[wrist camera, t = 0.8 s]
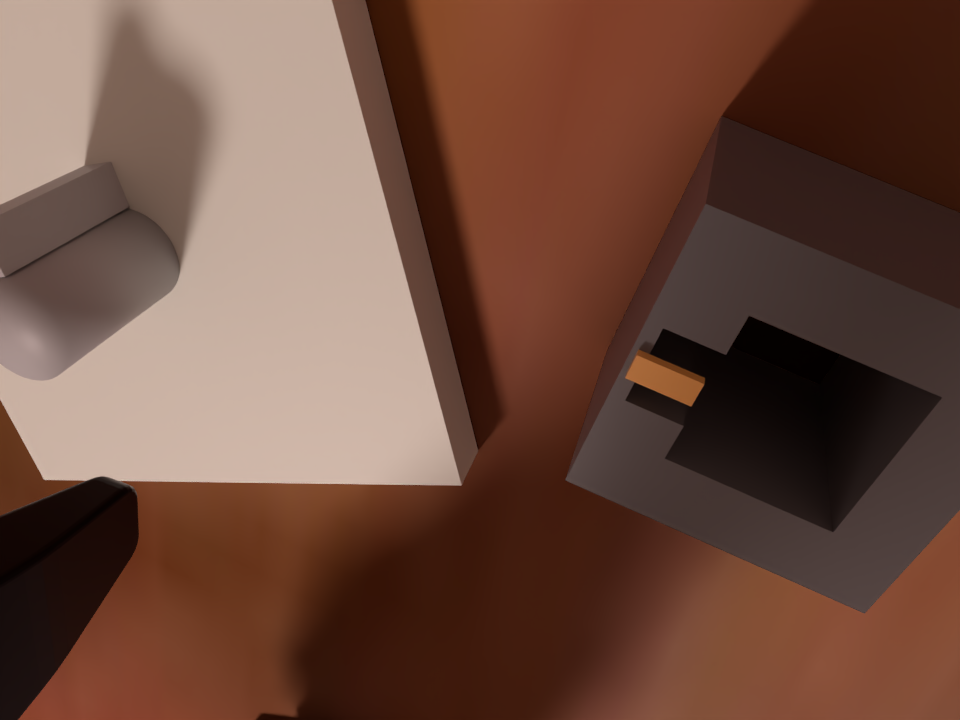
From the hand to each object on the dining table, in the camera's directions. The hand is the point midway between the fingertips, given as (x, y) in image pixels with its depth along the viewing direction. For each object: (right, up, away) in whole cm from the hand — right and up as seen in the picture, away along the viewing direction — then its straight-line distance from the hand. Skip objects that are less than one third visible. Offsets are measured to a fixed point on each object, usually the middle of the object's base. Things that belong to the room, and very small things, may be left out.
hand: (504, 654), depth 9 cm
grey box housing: (+6, +5, +9) cm, 12 cm away
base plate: (-8, +7, +13) cm, 17 cm away
